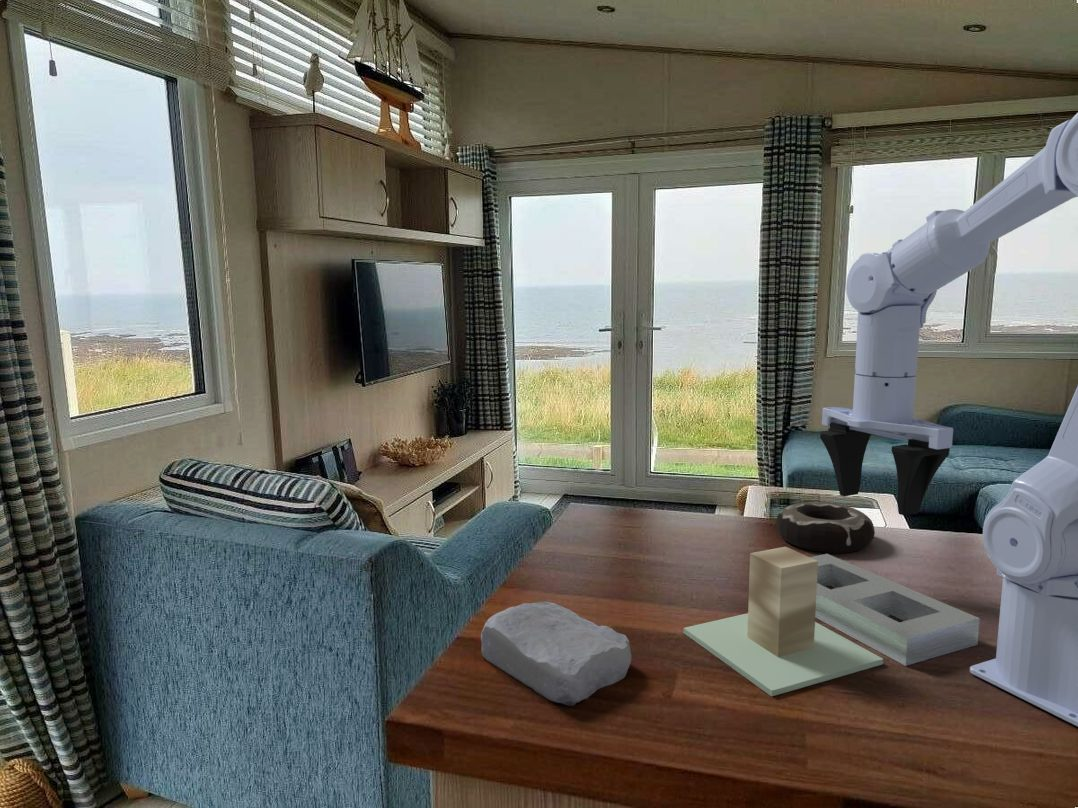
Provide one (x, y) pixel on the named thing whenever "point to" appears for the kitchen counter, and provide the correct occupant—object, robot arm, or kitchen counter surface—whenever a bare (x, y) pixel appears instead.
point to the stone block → (555, 651)
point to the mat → (786, 671)
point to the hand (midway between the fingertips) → (877, 503)
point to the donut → (825, 527)
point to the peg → (782, 600)
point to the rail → (873, 598)
